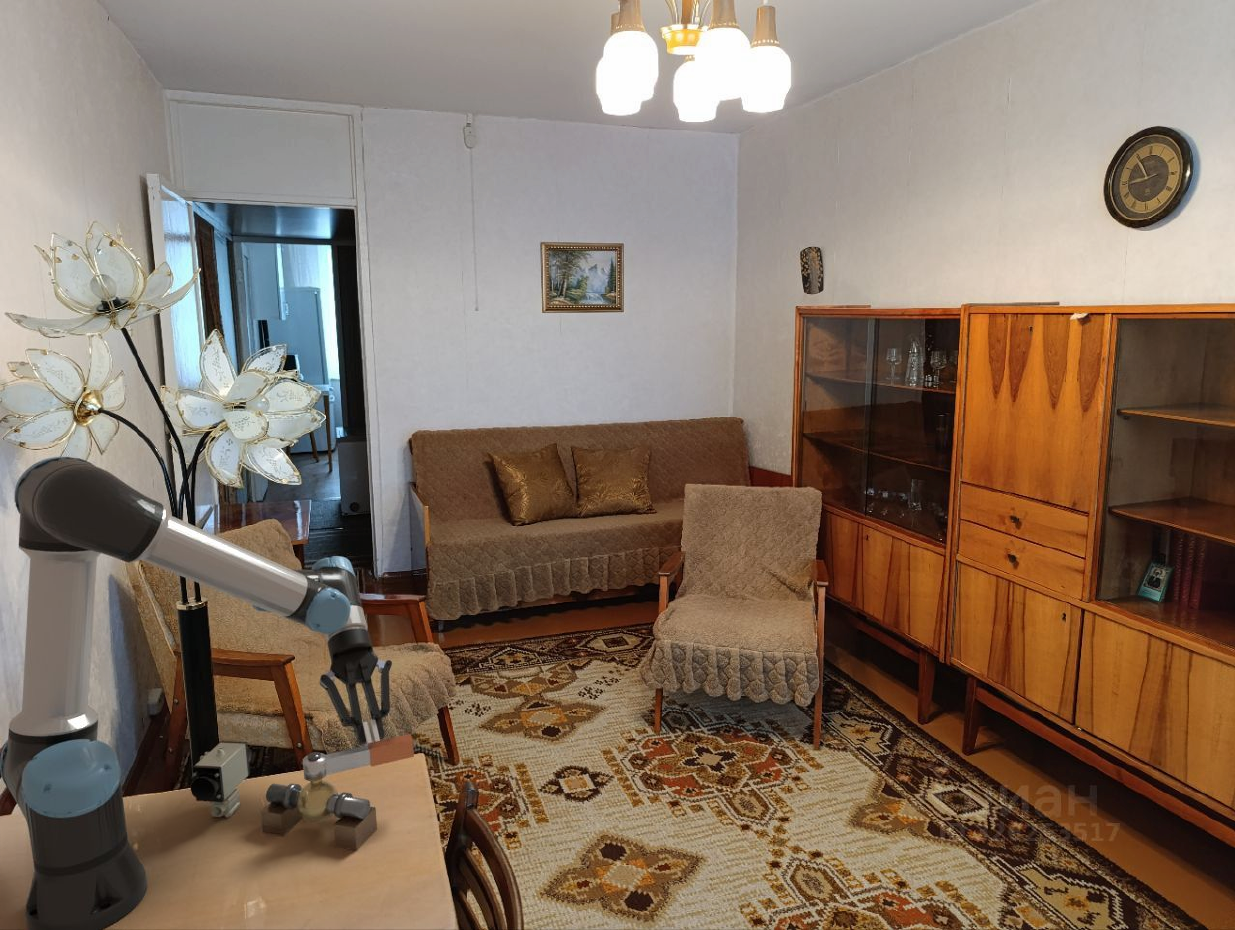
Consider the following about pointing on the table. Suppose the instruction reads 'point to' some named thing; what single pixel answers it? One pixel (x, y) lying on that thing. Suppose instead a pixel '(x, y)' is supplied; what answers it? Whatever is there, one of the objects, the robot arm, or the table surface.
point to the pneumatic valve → (221, 776)
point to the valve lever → (357, 757)
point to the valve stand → (319, 811)
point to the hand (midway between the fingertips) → (376, 759)
